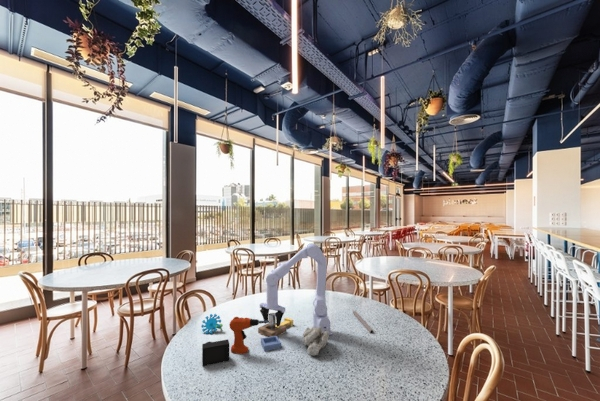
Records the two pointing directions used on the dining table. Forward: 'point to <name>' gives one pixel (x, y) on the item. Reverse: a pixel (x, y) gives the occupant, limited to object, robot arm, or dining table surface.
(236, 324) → the toy drill
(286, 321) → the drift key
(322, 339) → the mineral
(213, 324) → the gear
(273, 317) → the gray metallic cylinder
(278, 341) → the tray
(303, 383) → the dining table surface
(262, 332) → the socket
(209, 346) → the digital camera
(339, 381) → the dining table surface
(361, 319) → the metal rod
